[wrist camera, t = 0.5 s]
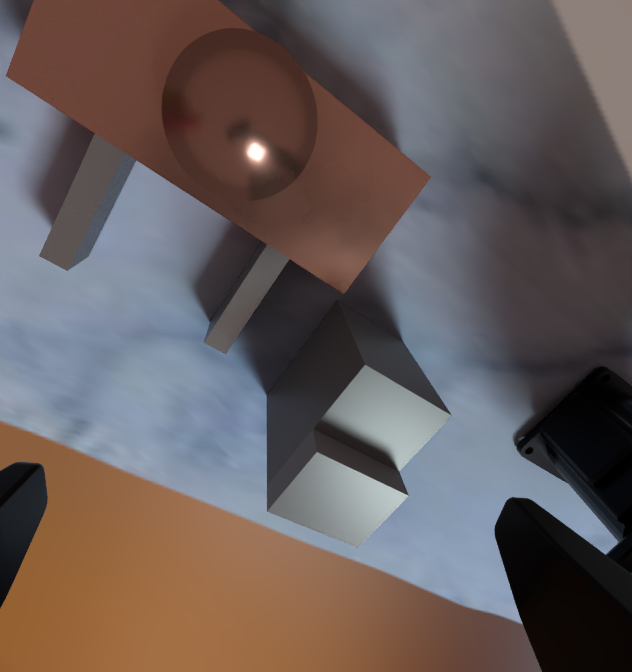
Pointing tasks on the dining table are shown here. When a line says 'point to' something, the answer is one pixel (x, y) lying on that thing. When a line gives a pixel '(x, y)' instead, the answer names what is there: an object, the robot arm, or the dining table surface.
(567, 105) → the dining table surface
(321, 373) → the grey stepped block
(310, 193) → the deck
